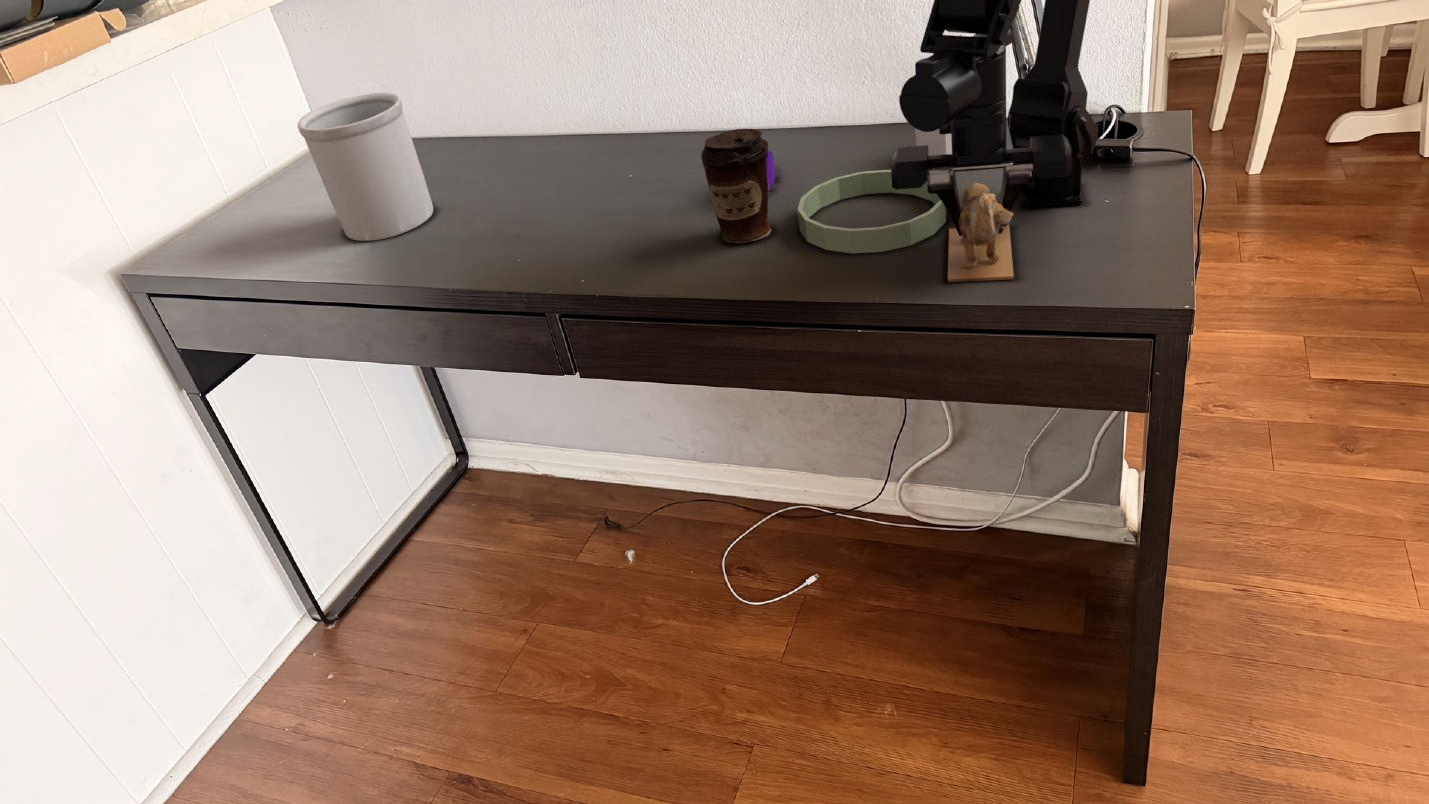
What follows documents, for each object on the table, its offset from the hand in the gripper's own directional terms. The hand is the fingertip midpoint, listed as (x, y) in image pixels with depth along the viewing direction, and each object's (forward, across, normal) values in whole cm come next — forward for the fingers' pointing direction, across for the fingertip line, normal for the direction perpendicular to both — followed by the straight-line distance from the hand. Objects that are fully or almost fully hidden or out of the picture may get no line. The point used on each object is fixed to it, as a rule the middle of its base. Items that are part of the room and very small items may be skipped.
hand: (980, 233), depth 116 cm
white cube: (+3, +4, -31) cm, 31 cm away
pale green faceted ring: (+3, +13, -11) cm, 17 cm away
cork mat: (+3, 0, 0) cm, 3 cm away
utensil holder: (+2, +87, -21) cm, 90 cm away
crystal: (+3, +30, -26) cm, 40 cm away
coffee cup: (+3, +29, -9) cm, 31 cm away
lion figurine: (+2, 0, +1) cm, 2 cm away
